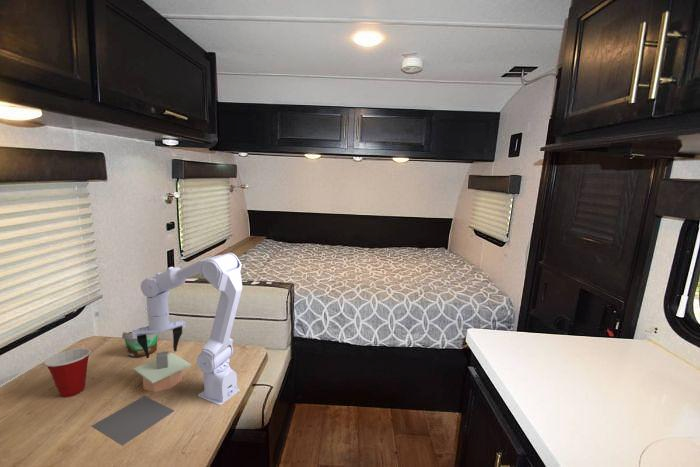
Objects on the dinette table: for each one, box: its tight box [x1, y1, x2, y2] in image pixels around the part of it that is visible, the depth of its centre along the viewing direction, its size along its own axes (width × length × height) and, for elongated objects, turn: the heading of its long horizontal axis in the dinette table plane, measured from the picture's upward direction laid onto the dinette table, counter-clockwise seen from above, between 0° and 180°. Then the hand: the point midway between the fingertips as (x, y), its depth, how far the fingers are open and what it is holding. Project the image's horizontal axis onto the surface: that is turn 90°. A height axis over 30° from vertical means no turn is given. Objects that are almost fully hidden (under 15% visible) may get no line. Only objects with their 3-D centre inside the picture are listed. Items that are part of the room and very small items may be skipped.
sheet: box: [133, 351, 192, 384], centre depth 106 cm, size 12×12×5 cm
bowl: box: [142, 370, 183, 393], centre depth 106 cm, size 11×11×5 cm
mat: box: [91, 395, 175, 446], centre depth 90 cm, size 14×14×1 cm
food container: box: [121, 326, 158, 359], centre depth 123 cm, size 12×6×10 cm, turn 143°
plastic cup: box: [43, 347, 92, 398], centre depth 100 cm, size 11×11×12 cm
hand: (161, 353), depth 105 cm, fingers open, 7 cm apart
